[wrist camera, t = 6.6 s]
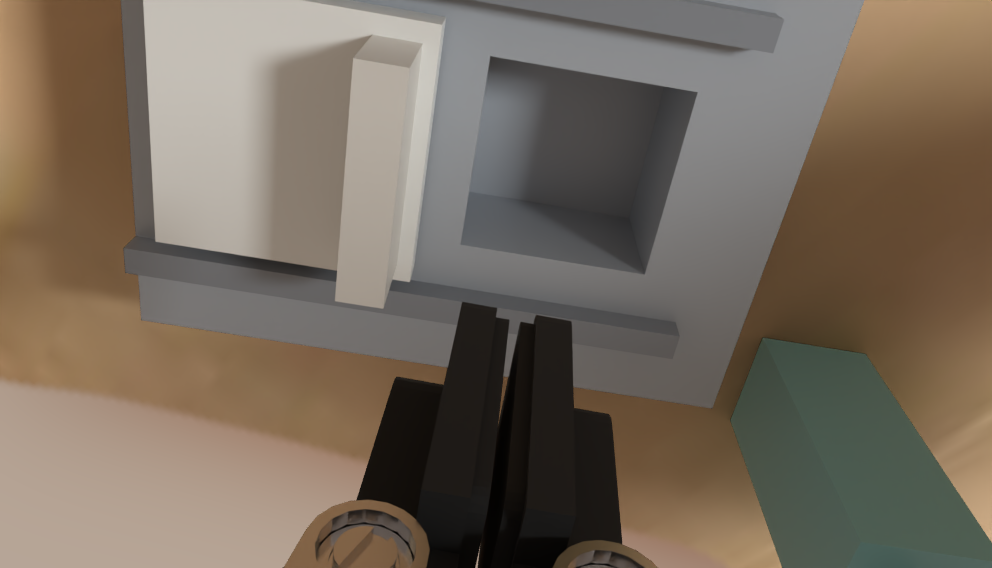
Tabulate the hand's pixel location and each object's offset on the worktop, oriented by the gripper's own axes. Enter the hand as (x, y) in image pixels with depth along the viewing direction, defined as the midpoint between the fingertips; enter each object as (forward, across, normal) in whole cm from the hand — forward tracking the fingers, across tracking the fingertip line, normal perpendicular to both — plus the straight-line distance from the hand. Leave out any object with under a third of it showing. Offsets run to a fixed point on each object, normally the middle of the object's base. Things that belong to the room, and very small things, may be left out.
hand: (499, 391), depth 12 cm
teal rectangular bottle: (+16, -12, +9) cm, 22 cm away
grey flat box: (+15, +2, 0) cm, 16 cm away
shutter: (+10, +6, 0) cm, 12 cm away
